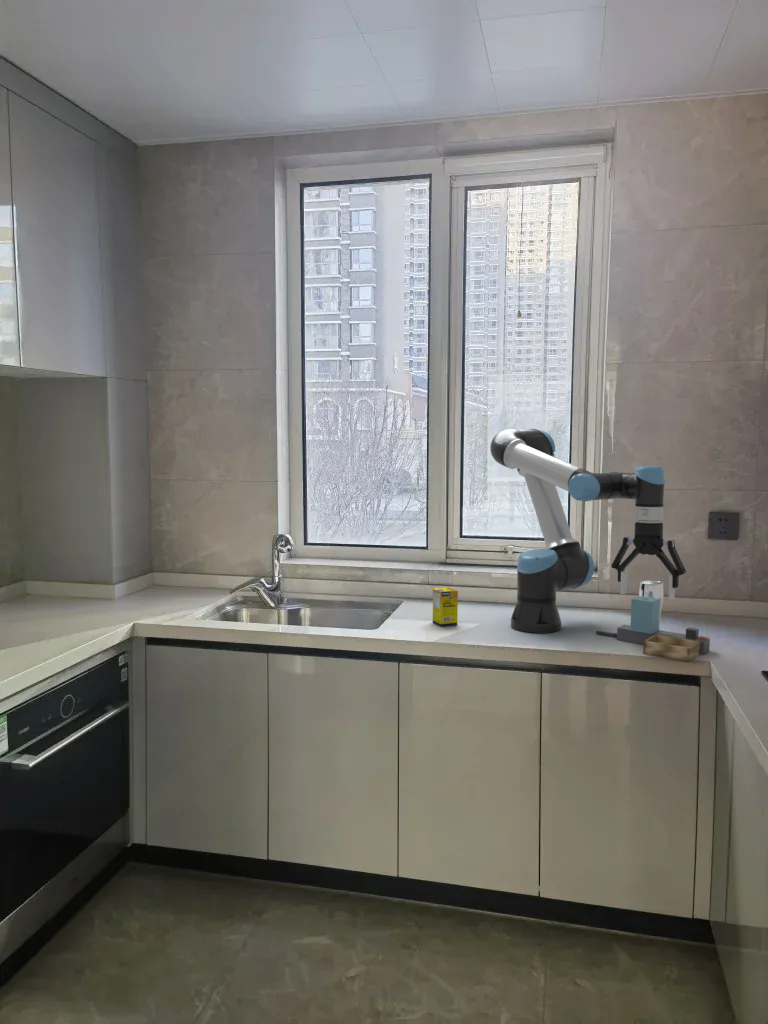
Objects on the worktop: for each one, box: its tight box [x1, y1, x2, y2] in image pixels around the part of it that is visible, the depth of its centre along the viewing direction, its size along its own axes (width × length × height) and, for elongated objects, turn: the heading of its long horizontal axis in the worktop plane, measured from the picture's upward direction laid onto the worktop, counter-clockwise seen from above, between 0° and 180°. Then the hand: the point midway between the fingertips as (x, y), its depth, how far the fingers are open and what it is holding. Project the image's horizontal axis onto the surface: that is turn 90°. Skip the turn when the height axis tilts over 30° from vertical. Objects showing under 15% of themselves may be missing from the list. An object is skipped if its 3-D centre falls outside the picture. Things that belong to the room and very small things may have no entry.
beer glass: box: [638, 579, 664, 630], centre depth 229 cm, size 7×7×15 cm
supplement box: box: [432, 587, 459, 627], centre depth 238 cm, size 6×6×11 cm
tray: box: [642, 635, 701, 663], centre depth 205 cm, size 12×9×4 cm
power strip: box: [595, 624, 711, 656], centre depth 216 cm, size 32×5×6 cm, turn 52°
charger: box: [630, 595, 661, 634], centre depth 217 cm, size 6×6×12 cm
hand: (647, 596), depth 216 cm, fingers open, 13 cm apart
